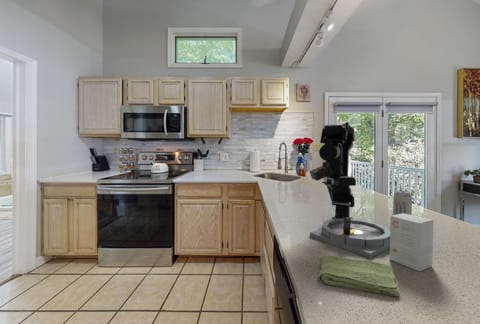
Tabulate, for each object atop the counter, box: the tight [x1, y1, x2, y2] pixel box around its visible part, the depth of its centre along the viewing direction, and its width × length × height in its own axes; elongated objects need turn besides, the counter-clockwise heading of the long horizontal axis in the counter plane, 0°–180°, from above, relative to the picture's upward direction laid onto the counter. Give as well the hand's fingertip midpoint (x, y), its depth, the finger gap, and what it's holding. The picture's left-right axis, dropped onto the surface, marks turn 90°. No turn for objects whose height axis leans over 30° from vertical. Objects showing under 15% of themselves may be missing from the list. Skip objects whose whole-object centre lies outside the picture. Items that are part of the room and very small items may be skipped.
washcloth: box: [317, 254, 401, 297], centre depth 62 cm, size 13×18×3 cm
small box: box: [389, 213, 434, 272], centre depth 68 cm, size 8×6×13 cm
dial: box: [330, 217, 382, 237], centre depth 87 cm, size 17×17×7 cm
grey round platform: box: [309, 218, 390, 259], centre depth 87 cm, size 22×22×4 cm
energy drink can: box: [392, 190, 413, 215], centre depth 95 cm, size 6×6×15 cm
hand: (333, 201), depth 90 cm, fingers closed
